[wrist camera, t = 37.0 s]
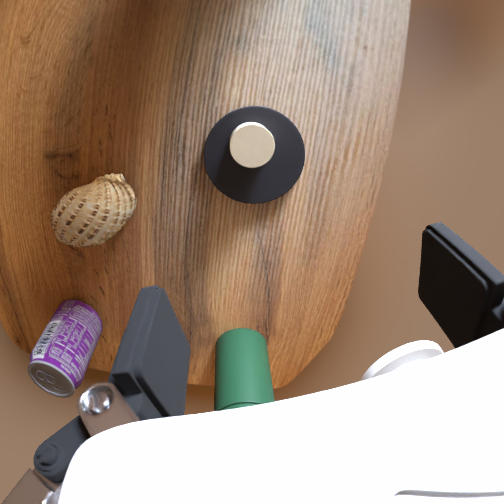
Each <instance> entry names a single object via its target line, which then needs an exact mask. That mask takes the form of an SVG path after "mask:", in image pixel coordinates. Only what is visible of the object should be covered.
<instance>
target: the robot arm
mask: <svg viewBox="0 0 504 504" xmlns="http://www.w3.org/2000/svg"><path fill="white" fill-rule="evenodd" d="M420 265H421V266H420V276H419V287H418V294H419V297H420V299H421V301H422V302H423V304H424V305H425V306H426V308H427V309H428V310H429V312H430V313H431V314H432V316H433V317H434V319H435V320H436V321H437V323H438V324H439V326H440V327H441V328H442V330H443V331H444V333H445V334H446V335H447V337H448V338H449V340H450V341H451V343H452V344H453V346H454V347H455V348H456V349H454V350H451V351H449V352H447V353H444V354H441V355H439V356H436V357H433V358H431V359H428V360H419V361H414V362H411V363H408V364H405V365H403V366H401V367H399V368H398V369H396V370H394V371H393V372H390V373H387V374H383V375H380V376H377V377H374V378H370V379H367V380H363V381H360V382H356V383H353V384H349V385H345V386H342V387H338V388H334V389H330V390H326V391H322V392H318V393H313V394H309V395H305V396H301V397H296V398H291V399H286V400H281V401H276V402H271V403H266V404H260V405H254V406H248V407H242V408H236V409H229V410H222V411H215V412H209V413H201V414H192V415H184V410H185V398H186V388H187V378H188V368H189V359H190V346H189V343H188V341H187V339H186V337H185V334H184V332H183V330H182V328H181V326H180V324H179V321H178V319H177V317H176V315H175V312H174V310H173V308H172V306H171V303H170V301H169V299H168V296H167V294H166V292H165V290H164V289H163V288H159V287H158V286H157V285H154V286H150V287H145V288H141V290H140V292H139V295H138V297H137V300H136V303H135V305H134V308H133V311H132V314H131V316H130V319H129V322H128V325H127V327H126V330H125V331H124V334H123V337H122V340H121V343H120V346H119V349H118V352H117V355H116V358H115V361H114V364H113V367H112V370H111V373H110V376H109V379H108V382H98V383H95V384H93V385H91V386H89V387H88V388H87V389H86V390H84V392H83V393H82V394H81V395H80V398H79V400H78V404H77V408H78V412H79V414H80V415H79V416H77V417H76V418H75V419H73V420H72V421H71V422H69V423H68V424H67V425H65V426H64V427H63V428H61V429H60V430H59V431H58V432H56V433H55V434H53V435H52V436H51V437H49V438H48V439H47V440H45V441H44V442H43V443H42V444H41V445H40V446H39V447H38V449H37V450H36V452H35V455H34V466H35V468H34V470H33V471H32V470H31V469H30V468H29V469H28V470H27V472H26V473H25V474H24V475H23V477H22V478H21V479H20V480H19V482H18V483H17V484H16V486H15V487H14V488H13V489H12V491H11V492H10V493H9V495H8V496H7V497H6V499H5V500H4V501H3V503H2V504H504V275H503V274H502V273H501V272H500V271H498V270H497V269H496V268H495V267H494V266H493V265H492V264H491V263H490V262H489V261H487V260H486V259H485V258H484V257H483V256H482V255H481V254H479V253H478V252H477V251H476V250H475V249H474V248H472V247H471V246H470V245H469V244H468V243H466V242H465V241H464V240H463V239H462V238H460V237H459V236H458V235H457V234H455V233H454V232H453V231H452V230H451V229H449V228H448V227H447V226H445V225H444V224H442V223H441V222H440V223H436V224H431V225H428V226H427V227H426V229H425V230H424V231H423V233H422V250H421V264H420Z"/></svg>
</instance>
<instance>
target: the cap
mask: <svg viewBox="0 0 504 504" xmlns="http://www.w3.org/2000/svg"><path fill="white" fill-rule="evenodd" d="M274 149H275V142H274V139H273V136H272V135H271V133H270V132H269V131H268V130H267V129H266V128H265V127H264V126H262V125H261V124H259V123H255V122H247V123H243V124H241V125H239V126H238V127H237V128H236V129H235V130H234V131H233V133H232V135H231V137H230V152H231V155H232V157H233V158H234V160H235V161H236V162H237V163H239V164H240V165H242V166H244V167H249V168H255V167H259V166H262V165H264V164H265V163H267V162H268V161H269V160H270V159H271V157H272V155H273V153H274Z"/></svg>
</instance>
